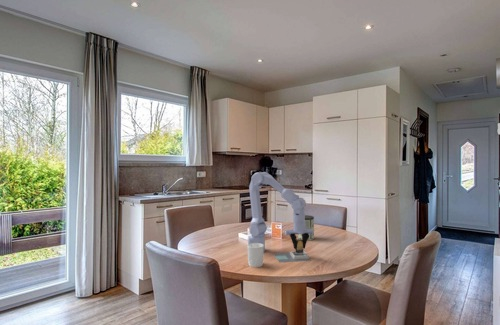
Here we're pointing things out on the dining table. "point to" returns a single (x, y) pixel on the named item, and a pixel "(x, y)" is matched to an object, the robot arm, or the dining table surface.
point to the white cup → (255, 254)
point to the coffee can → (308, 226)
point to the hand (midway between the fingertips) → (299, 248)
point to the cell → (299, 246)
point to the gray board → (292, 257)
